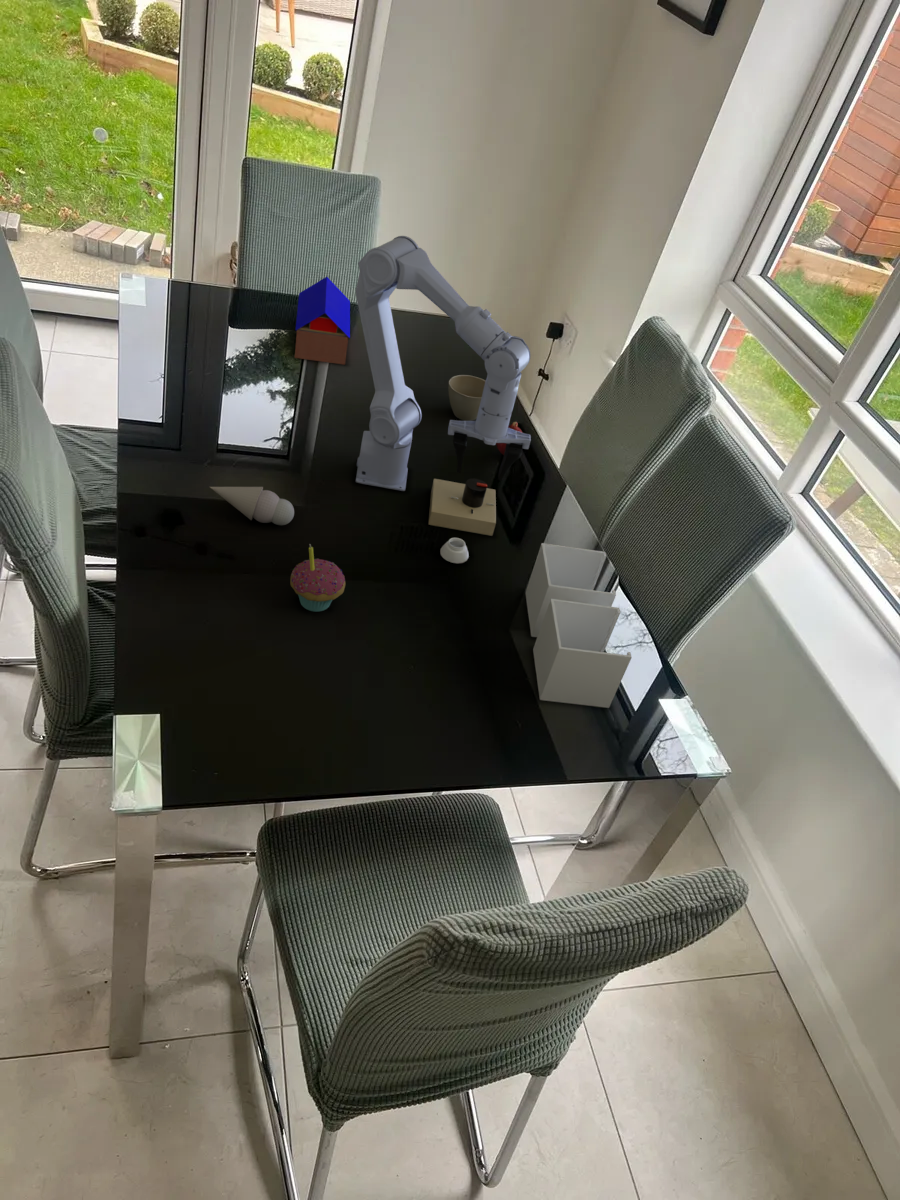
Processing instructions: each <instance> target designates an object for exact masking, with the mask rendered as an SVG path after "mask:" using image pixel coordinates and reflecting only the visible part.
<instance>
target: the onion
mask: <svg viewBox="0 0 900 1200" xmlns="http://www.w3.org/2000/svg"><path fill="white" fill-rule="evenodd" d="M508 428H511V429H513V430H516V431H519V432H522V433H523V431H522V429H521V428H520V427H519V424H518V422H517V421H513V422H512V423H511V424H509V425H508ZM495 446H496V448H497V450H498V451H499V452H500V454H501V455H503V456H504V452H505V448H506V443H496V445H495Z"/></svg>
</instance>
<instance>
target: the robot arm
mask: <svg viewBox="0 0 900 1200" xmlns="http://www.w3.org/2000/svg"><path fill="white" fill-rule="evenodd" d="M357 264H358V270H359V274H358V278H357V281H356V287H355V299H356V302H357V308H358V313H359V318H360V322H361V327H362V328H361V329H362V332H363V333H362V334H363V338H364V342H365V343H364V344H365V348H366V352H367V356H368V362H369V366H370V367H369V368H370V372H371V377H372V380H373V387H374V395H373V397H372V400H371V402H370V405H369V412H370V419H369V423H368V427H369V429H368V430H364V431H363V433H362V438H361V445H360V451H359V456H358V457H357V461H356V467H357V468H356V469H357V470H356V477H355V483H357V484H361V485H368V486H372V487H377V488H384V489H389V490H395V491H399V492H400V491H401V492H405V491H406V488H407V479H408V470H409V468H408V463H409V457H410V451H411V447H412V444H413V443H412V442H413V441H412V440H413V431H414V429H415V428H416V427H417V426H419V425H420V423H421V421H422V417H423V414H422V409H421V407H420V405H419V403H418V402H417V400H416V398H415V395H414V391H413V389H411V388H410V387H408V386H407V385H406V383H405V378H404V373H403V367H402V361H401V356H400V351H399V346H398V340H397V335H396V330H395V325H394V324H395V323H394V318H393V313H392V308H391V301H390V297H391V295H392V294H393V293H394V291H395V290H396V289H397V290H411V291H412V290H413V291H414V290H415V291H419V292H420V293H421V294H422V295H423V296H425V297H426V298H427V299H429V301H431V303H433V304H434V305H435V306H436V307H437V308H439V309H440V310H441V311H442V312H443V313H444V314H445V315H447V317H449V318H450V319H451V320H452V321H453V322H454V326H455V328H454V329H455V333H456V334H457V336H459V338H460V339H461V340H463V341H464V342H465V343H466V344H467V345H468V346H469V348H471V349H472V350H473V351H474V352H475V353H476V355H478V356H479V357H480V358H481V359H482V360H483V361H484V369H485V371H486V373H487V375H486V378H485V385H484V389H483V394H482V398H481V402H480V406H479V410H478V414H477V418H476V419H475V420H472V421H465V420H457V419H456V420H455V419H449V421H448V422H449V423H448V428H447V435H448V436H453V437H452V438H453V439H452V443H453V444H452V445H453V448H454V451H455V457H456V463H457V464H456V473H457V474H461V472H462V471H463V469H462V468H463V462H464V457H465V453H466V450H467V447H468V446H467V445H468V444H467V443H468V437H469V438H474V439H478V440H480V441H483V443H484V444H485V445H489V446H497V445H496V443H506V448H505V452H504V455H503V457H502V460H501V462H500V463H501V464H500V466H499V469H498V475H497V477H498V478H497V480H498V481H501V482H502V481H503V479H504V477H505V476H506V474H507V472H508V471H509V470H510V468H511V466H513V464H514V463H516V461H518V460H519V459H520V458H521V456H522V454H523V449H524V450H529V448H530V445H531V441H532V439H531V438H532V436H531V434H530V433H525V432H523V431H522V432H519V431H516V430H513V429H511V428H508V426H510V422H511V417H512V413H513V410H514V406H515V403H516V400H517V395H518V392H519V385H520V381H521V378H522V371H523V370H525V368H527V366H528V365H529V363H530V360H531V349H530V348H529V345H528V344H527V343H526V341H525V340H524V338H522V337H520V336H516V335H511V334H510V333H509V332H508V331H505V330H504V329H503V328H502V327H501V325H499V324H498V323H497V322H496V321H495V320H494V319H493V318H492V317H491V316H492V313H491V312H490V311H489V309H487V308H485V309H483V308H482V307H481V306H475V305H474V306H472V305H469V304H468V303H467V301H466V300H465V299H464V298H463V297H462V296H461V295H460V294H459V293H458V292H457V291H456V290H455V288H454V286H452V285H451V284H450V283H449V282H448V280H447V279H446V278H445V277H444V276H443V275H442V274H441V273H440V272H439V270H437V268H436V267H435V266H434V265H433V263H432V261H431V260H430V258H429V255H428V253H427V251H426V250H425V249H423V248H421V247H419V245H418V244H417V242H416V241H415V240H414V239H413V238H412V237H409V236H406V235H398V236H396V237H394V238H393V239H391V240H390V241H387V242H385V243H383V244H381V245H379V246H376V247H372V248H370V249H369V250H367V252H366V253H365V254H364V255H363V256H362V258H361V259H360V260H359V261H358V263H357Z"/></svg>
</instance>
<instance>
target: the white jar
mask: <svg viewBox="0 0 900 1200" xmlns="http://www.w3.org/2000/svg"><path fill="white" fill-rule="evenodd" d="M439 550H440V551H439V552H440V556H441V557H442V558H443V560H445V561H447V562H450V563H453V564H464V563H465V562H467V561H468V559H469V557H470V556H469V550H468V546H467V545H466V541H465V540H463V539H462V538H459V537H451V538H449V539H448V540H447V541H446V542H445V543H444V544H443V545H442V546H441V548H440V549H439Z"/></svg>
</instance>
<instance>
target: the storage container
mask: <svg viewBox="0 0 900 1200" xmlns="http://www.w3.org/2000/svg"><path fill="white" fill-rule="evenodd" d="M606 559H607V553H606V551H601V550H594V549H586V548H580V547H573V546H567V545H558V544H551V543H546V542H545V543H544V542H541V544H540V546H539V550H538V553H537V556H536V560H535V562H534V565H533V568H532V571H531V574H530V578H529V580H528V584H527V587H526V589H525V599H526V608H527V614H528V615H527V617H528V623H529V629H530V637H532V638H536V639H535V642H534V646H533V647H532V648H533V649H532V653H533V659H534V667H535V674H536V681H537V683H536V684H537V689H538V696H539V697H538V698H539V701H547V702H555V703H564V704H572V705H580V706H589V707H596V708H607V709H610V707H611V704H612V702H613V700H614V698H615V696H616V693H617V691H618V689H619V686H620V684H621V682H622V680H623V678H624V676H625V674H626V671H627V669H628V666H629V664H630V663H631V660H632V653H631V651H627V652H626V654H620V653H612V652H605V650H606V648H607V646H608V643H609V641H610V640H611V639H610V638H611V636H612V634H613V631H614V629H615V627H616V624H617V622H618V619H619V617H620V614H621V608H620V607H619V606H618V607H617V606H613V604H614V602H615V599H616V596H617V593H616V590H615V589H612V590H611V592H610V591H609V592H608V591H601V590H595V587H596V585H597V582H598V579H599V577H600V574H601V571H602V569H603V566H604V564H605V561H606Z"/></svg>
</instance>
